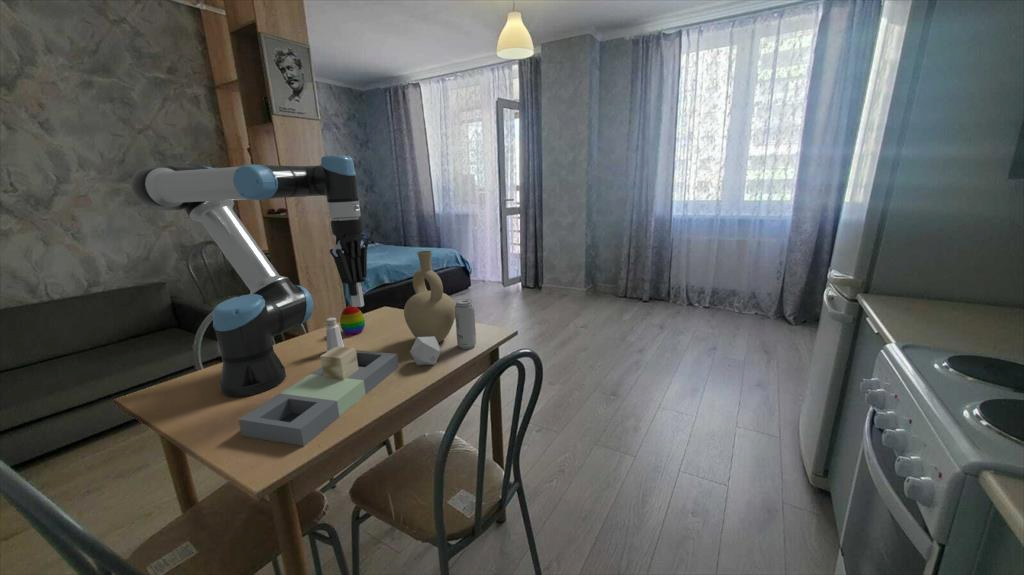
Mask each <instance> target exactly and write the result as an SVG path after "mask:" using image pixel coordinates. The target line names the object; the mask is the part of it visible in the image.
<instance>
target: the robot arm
mask: <svg viewBox="0 0 1024 575" xmlns="http://www.w3.org/2000/svg"><path fill="white" fill-rule="evenodd" d="M320 162H321V164H318V165H272V164H270V165H269V164H260V163H259V164H258V163H256V164H254V163H253V164H243V165H240V166H232V167H231V166H229V167H227V166H226V167H216V168H214V167H212V166H204V165H192V166H187V165H182V166H181V165H150V166H146V167H142V168H141V169H139V170H137V171H136V172H135V173H134V174H133V176H132V177H131V180H130V189H131V192H132V194H133V197H135V198H136V199H137V200H138V201H139V202H140V203H141V204H142V205H144V206H146V207H148V208H151V209H154V210H159V211H177V210H179V211H181V210H184V211H185V213H186V214H187V215H188V217H189V218H190V219H191V221H194V222H199V223H201V225H202V226H203V227H204V229H205V230H206V232H207V233H208V234H209V235H210V236H211V238H212V240H213V242H214V243H216V245H217V247H218V248H219V249H220V250H221V252H222V254H223V255H224V256H225V258H226V259H227V261H228V262H229V263H230V265H231V266H232V268H233V269H234V270H235V271H236V273H237V274H238V276H239V277H240V279H241V280H242V281H243V282H244V284H245V286H246V287H247V288H248V290H249V291H250V292H249V293H248V294H243V295H239V296H234V297H232V298H229V299H226V300H224V301H222V302H220V303H219V304H217V305H216V306H214V308H213V309H212V313H211V316H212V327H213V329H214V331H215V336H216V339H217V344H218V347H219V352H220V356H221V360H222V367H221V376H220V380H219V388H220V392H221V394H222V395H224V396H226V397H233V398H234V397H235V398H236V397H237V398H238V397H248V396H251V395H252V396H253V395H257V394H259V393H262V392H266V391H268V390H271V389H272V388H275V387H277V386H278V385H280V384H281V383H282V382H284V380H285V379H286V377H287V373H286V368H285V366H284V364H283V363H282V361H281V360H280V358H279V357H278V356H277V354H276V352H275V349H274V345H273V339H272V338H274V337H276V336H278V335H281V334H283V333H285V332H287V331H289V330H292V329H295V328H297V327H299V326H301V325H302V324H304V323H307V321H309V320H310V319H311V317H312V315H313V312H314V300H313V297H312V294H311V293H310V292H309V290H308V289H307V288H306V287H305V286H301V285H298V284H297V285H296V284H295V285H294V284H293V282H292V281H291V280H290V279H289V277H287V276H283V275H280V274H279V273H278V271H277V270H276V268H275V267H274V265H273V264H272V263H271V262H270V260H269V259H268V257H267V256H266V254H265V253H264V251H263V250H262V249H261V247H260V246H259V245H258V243H257V242H256V240H255V239H254V238H253V236H252V235H251V233H250V232H249V230H248V229H247V228H246V226H245V225H244V223H242V221H241V219H240V218H239V216H238V215H237V214H236V212H235V211H234V209H233V208H234V205H235V201H242V200H243V201H244V200H245V201H247V200H254V201H263V200H264V201H265V200H271V199H273V200H275V199H283V198H284V199H286V198H287V199H288V198H301V197H302V198H303V197H304V198H305V197H319V196H320V197H321V196H324V197H326V201H327V202H326V203H327V210H328V217H329V218H330V219H332V220H331V221H330V228H331V233H332V235H334V236H335V247H334V248H331V249H330V250H329V253H330V255H331V256H332V257H333V260H334V263H335V266H336V268H337V272H338V275H339V278H340V281H341V283H342V284H346V285H347V286H348V291H349V292H348V293H349V296H350V299H351V300H350V301H351V305H352V307H357V308H362V307H364V306H365V301H364V294H363V292H364V289H363V282H364V283H365V282H366V278H367V273H368V272H367V269H368V267H367V266H368V264H367V263H368V261H367V260H368V258H367V257H368V247H369V243H368V241H364V240H363V239H362V238H363V237H362V236H361V234H362V233H363V232H364V227H363V222H362V221H363V220H362V218H359V217H361V216H362V214H361V207H360V200H359V199H360V198H359V195H358V193H359V192H358V184H357V173H356V170H355V164H354V160H353V158H352V157H351V156H350V155H325V156H324V155H323V156H321V159H320Z"/></svg>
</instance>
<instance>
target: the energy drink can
mask: <svg viewBox="0 0 1024 575" xmlns="http://www.w3.org/2000/svg"><path fill="white" fill-rule="evenodd" d="M475 314H476V313H475V305H474V304H473V301H472V299H469V298H462V299H459V300H456V302H455V328H456V343H457V346H458V347H459V348H460V349H462V350H470V349H473V348H475V346H476V344H477V336H476V335H477V333H476V315H475Z"/></svg>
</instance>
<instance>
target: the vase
mask: <svg viewBox="0 0 1024 575" xmlns="http://www.w3.org/2000/svg"><path fill="white" fill-rule="evenodd" d="M416 254H417V257H418V261H419V266H420V269H418V270H416V271H415V272H414V273H413V276H412V287H413V290H414V293H415V294H413V295H412V296H410V297H409V298H408V299H407V301H406V303H405V305H404V307H403V316H404V317H403V318H404V320H405V323H406V325H407V327H408V328H409V330H410V332H411V334H412V335H413V336H414V338H415V339H416V338H417V337H433V336H435V338H436V340H437V342H438V344H439V343H441V342H442V341H444V340H445V339H446V338H447V336H448V335H449V333H450V332H451V330H452V327H453V325H454V322H455V320H456V318H455V305H456V302H454V300H453V299H452V297H451V296H450V295H448V294H446V293H444V287H443V282H442V280H441V277H440V276H439V274H437V273H436V272H435V271H434V270H432V269H433V267H432V255H433V251H432V250H422V251H417V252H416ZM425 279H426V281H427V282H428V283H429V287H430V290H428V289H427V285H426V283H425Z"/></svg>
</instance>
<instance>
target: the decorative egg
mask: <svg viewBox="0 0 1024 575" xmlns="http://www.w3.org/2000/svg"><path fill="white" fill-rule="evenodd" d="M339 324H340V328H341V330H342V332H344V334H346V335H347V336H352V335H358V334H361V333H362V332H363V331H364V329H365V326H366V320H365V316H364V314H363V312H362V311H361V310H360V309H359V307H352V304H351V305H347V306H346V307H345V308H344V309H343V311H342V312H341V315H340V318H339Z"/></svg>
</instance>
